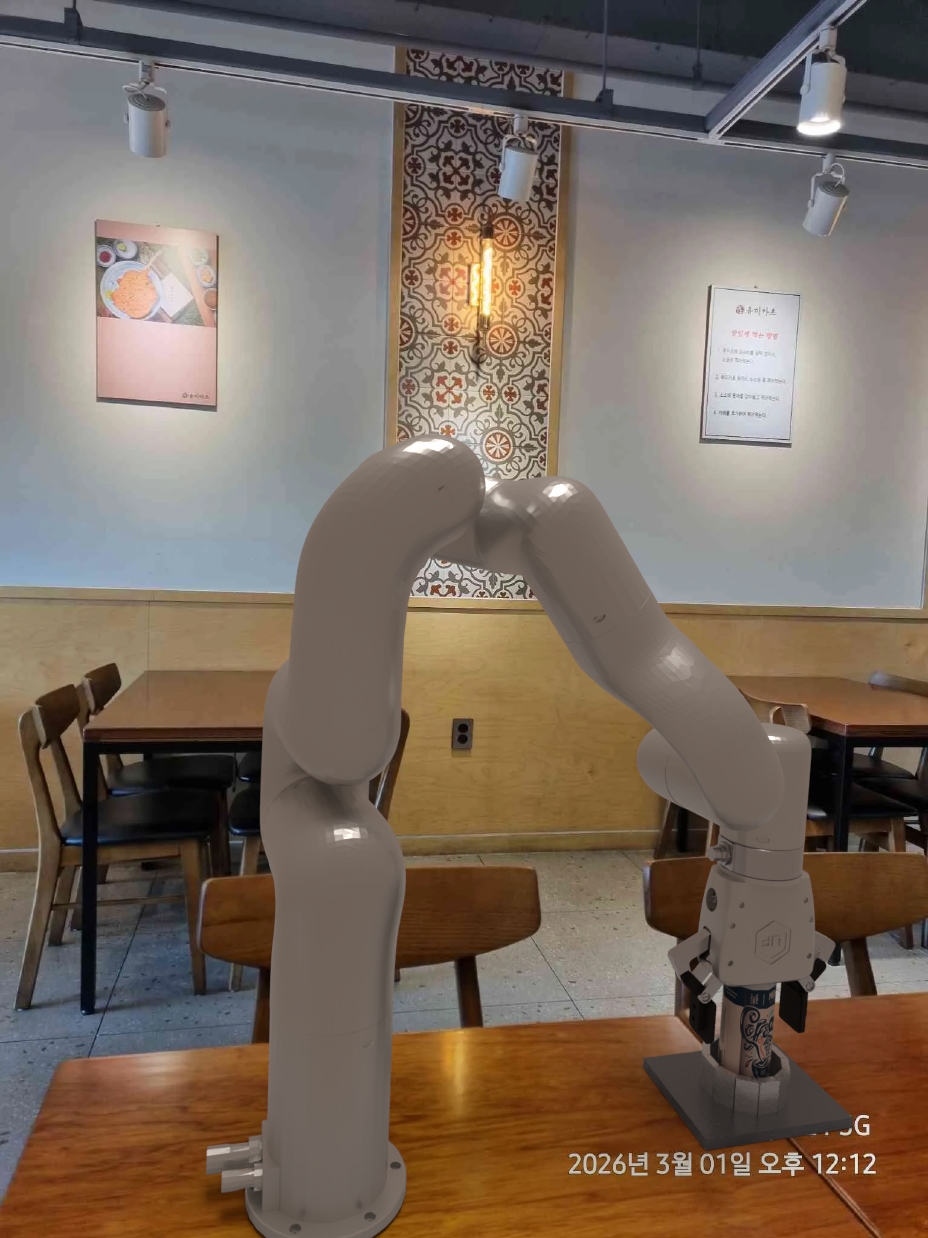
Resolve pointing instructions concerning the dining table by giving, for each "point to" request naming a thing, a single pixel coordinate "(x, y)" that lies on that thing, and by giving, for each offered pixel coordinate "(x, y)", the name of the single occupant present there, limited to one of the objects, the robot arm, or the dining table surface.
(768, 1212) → the dining table surface
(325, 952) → the robot arm
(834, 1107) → the can stand
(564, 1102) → the dining table surface
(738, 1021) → the canned coffee drink
